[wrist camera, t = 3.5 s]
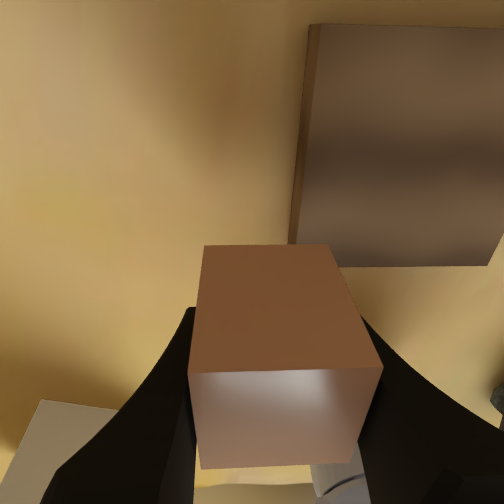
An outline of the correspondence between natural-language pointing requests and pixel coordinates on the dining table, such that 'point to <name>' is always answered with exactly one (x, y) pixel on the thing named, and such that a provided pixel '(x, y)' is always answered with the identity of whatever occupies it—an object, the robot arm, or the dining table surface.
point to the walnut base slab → (401, 145)
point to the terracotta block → (278, 358)
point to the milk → (49, 447)
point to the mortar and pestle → (499, 402)
